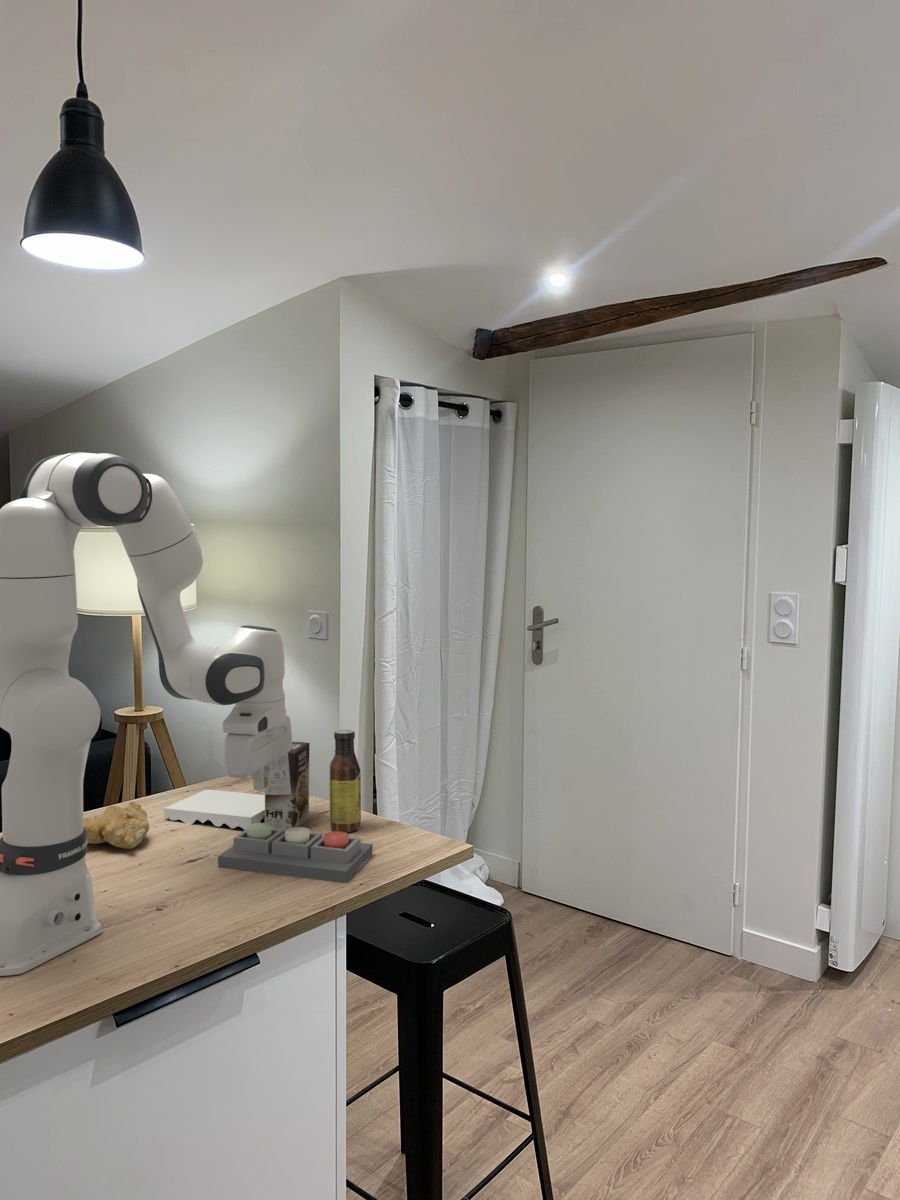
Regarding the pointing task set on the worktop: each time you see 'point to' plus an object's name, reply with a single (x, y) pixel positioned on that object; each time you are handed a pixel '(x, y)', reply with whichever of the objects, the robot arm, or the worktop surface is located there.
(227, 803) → the white scalloped slab
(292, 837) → the cream button
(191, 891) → the worktop surface
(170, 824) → the worktop surface
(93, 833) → the ginger root
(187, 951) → the worktop surface
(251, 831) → the green button
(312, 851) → the button panel
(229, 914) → the worktop surface
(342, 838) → the red button
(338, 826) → the sauce bottle
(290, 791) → the coffee box
